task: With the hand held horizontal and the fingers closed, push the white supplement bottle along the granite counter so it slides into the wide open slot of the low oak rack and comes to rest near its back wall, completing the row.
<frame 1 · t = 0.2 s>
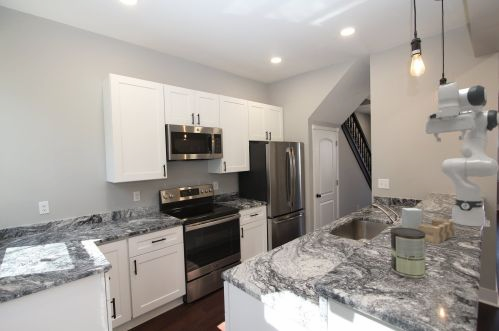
hand: (449, 140, 130), 48 cm above the worktop, tool pointing down, fingers open, 8 cm apart
oak rack: (441, 238, 123), on the worktop
supplement box: (411, 233, 133), on the worktop
coffee can: (407, 272, 88), on the worktop
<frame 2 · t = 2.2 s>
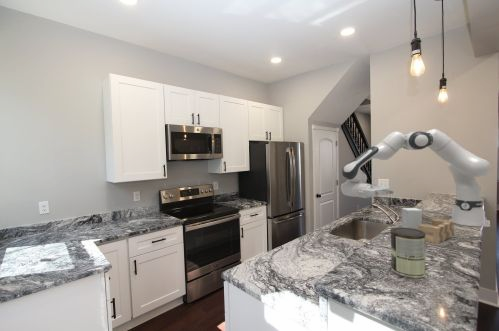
hand: (389, 192, 142), 20 cm above the worktop, tool horizontal, fingers open, 6 cm apart
nothing on the worktop moved.
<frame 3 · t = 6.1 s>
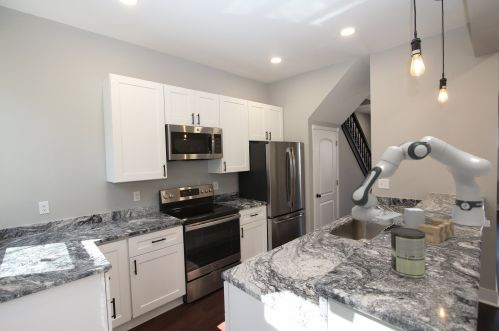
hand: (404, 221, 136), 5 cm above the worktop, tool horizontal, fingers closed, pressing on supplement box
supplement box: (414, 233, 132), on the worktop, touching gripper
everything else where it was.
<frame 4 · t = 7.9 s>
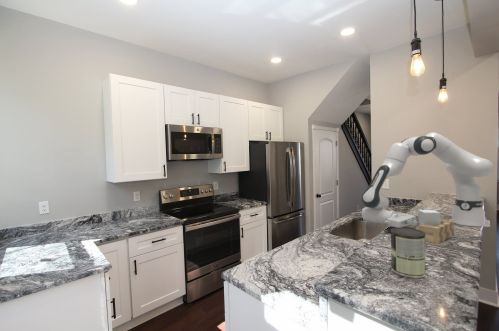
hand: (418, 223, 131), 5 cm above the worktop, tool horizontal, fingers closed, pressing on supplement box
supplement box: (429, 236, 127), on the worktop, touching gripper, oak rack
everything else where it was.
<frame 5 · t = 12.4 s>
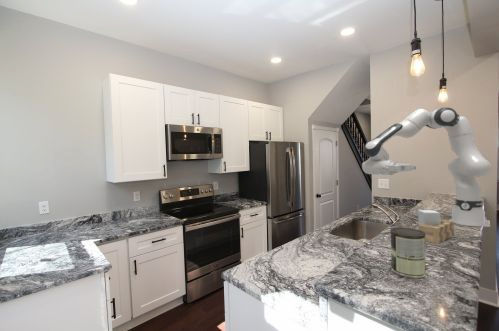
hand: (414, 167, 140), 34 cm above the worktop, tool horizontal, fingers closed
supplement box: (429, 236, 127), on the worktop
everything else where it was.
at the end: supplement box inside the target area (0.8 cm from its centre), on the worktop; supplement box tilted 0°; supplement box moved 8.0 cm from its start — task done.
